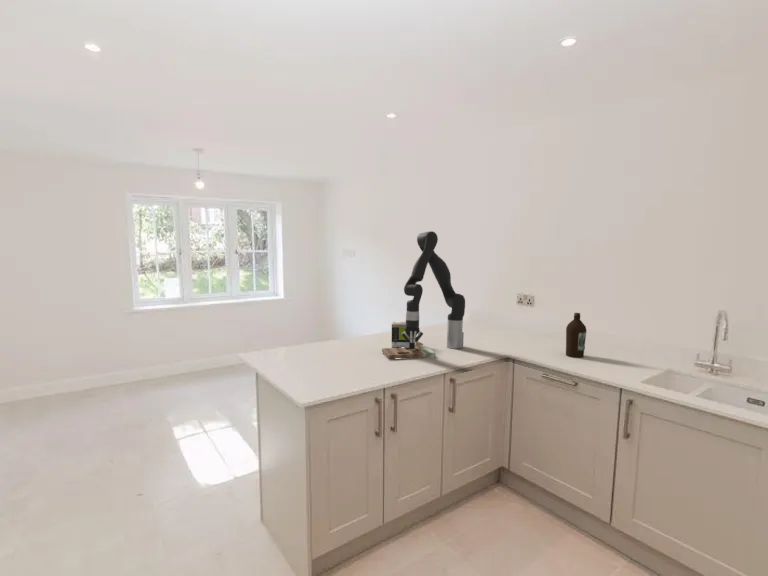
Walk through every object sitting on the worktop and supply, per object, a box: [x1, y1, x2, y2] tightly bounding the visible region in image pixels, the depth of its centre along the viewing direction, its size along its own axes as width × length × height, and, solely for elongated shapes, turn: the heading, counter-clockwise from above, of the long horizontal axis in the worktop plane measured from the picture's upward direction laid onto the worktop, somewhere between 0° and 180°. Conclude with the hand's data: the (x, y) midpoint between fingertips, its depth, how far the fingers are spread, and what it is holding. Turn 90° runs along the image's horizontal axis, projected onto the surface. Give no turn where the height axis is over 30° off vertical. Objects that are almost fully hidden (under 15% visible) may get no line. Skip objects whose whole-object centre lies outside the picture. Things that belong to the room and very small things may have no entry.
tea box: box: [391, 321, 409, 348], centre depth 261 cm, size 15×10×15 cm
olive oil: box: [565, 312, 587, 359], centre depth 243 cm, size 11×11×25 cm
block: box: [414, 340, 424, 351], centre depth 242 cm, size 4×4×4 cm
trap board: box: [381, 346, 436, 360], centre depth 241 cm, size 27×15×2 cm, turn 104°
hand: (411, 348), depth 241 cm, fingers closed
